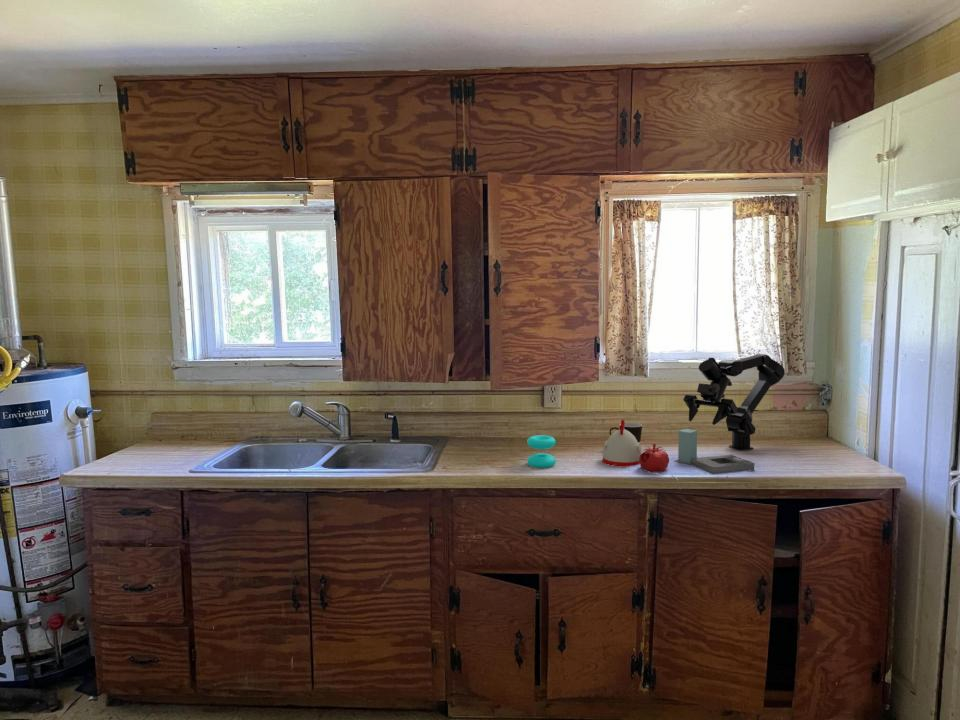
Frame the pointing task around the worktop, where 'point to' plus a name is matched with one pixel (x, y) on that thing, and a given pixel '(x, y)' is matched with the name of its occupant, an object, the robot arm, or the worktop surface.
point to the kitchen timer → (622, 448)
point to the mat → (683, 462)
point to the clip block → (687, 445)
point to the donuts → (541, 459)
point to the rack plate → (722, 464)
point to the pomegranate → (654, 459)
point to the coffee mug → (632, 430)
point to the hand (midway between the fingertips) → (701, 422)
